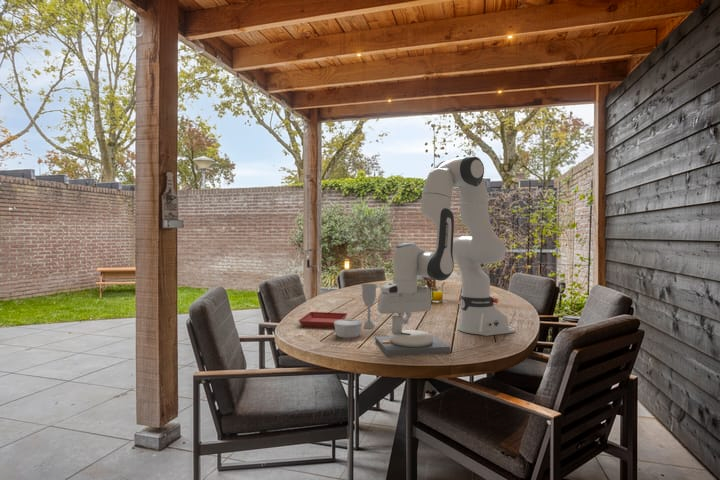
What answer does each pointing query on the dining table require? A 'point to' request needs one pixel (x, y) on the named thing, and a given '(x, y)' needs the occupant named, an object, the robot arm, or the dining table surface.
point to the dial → (408, 335)
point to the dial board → (399, 350)
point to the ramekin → (348, 328)
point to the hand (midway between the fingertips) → (404, 324)
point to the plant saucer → (321, 319)
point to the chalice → (369, 301)
